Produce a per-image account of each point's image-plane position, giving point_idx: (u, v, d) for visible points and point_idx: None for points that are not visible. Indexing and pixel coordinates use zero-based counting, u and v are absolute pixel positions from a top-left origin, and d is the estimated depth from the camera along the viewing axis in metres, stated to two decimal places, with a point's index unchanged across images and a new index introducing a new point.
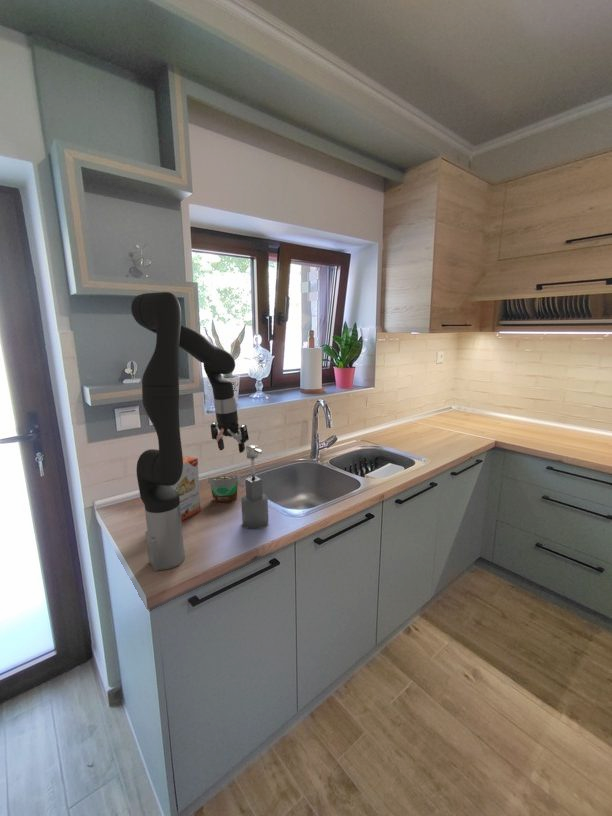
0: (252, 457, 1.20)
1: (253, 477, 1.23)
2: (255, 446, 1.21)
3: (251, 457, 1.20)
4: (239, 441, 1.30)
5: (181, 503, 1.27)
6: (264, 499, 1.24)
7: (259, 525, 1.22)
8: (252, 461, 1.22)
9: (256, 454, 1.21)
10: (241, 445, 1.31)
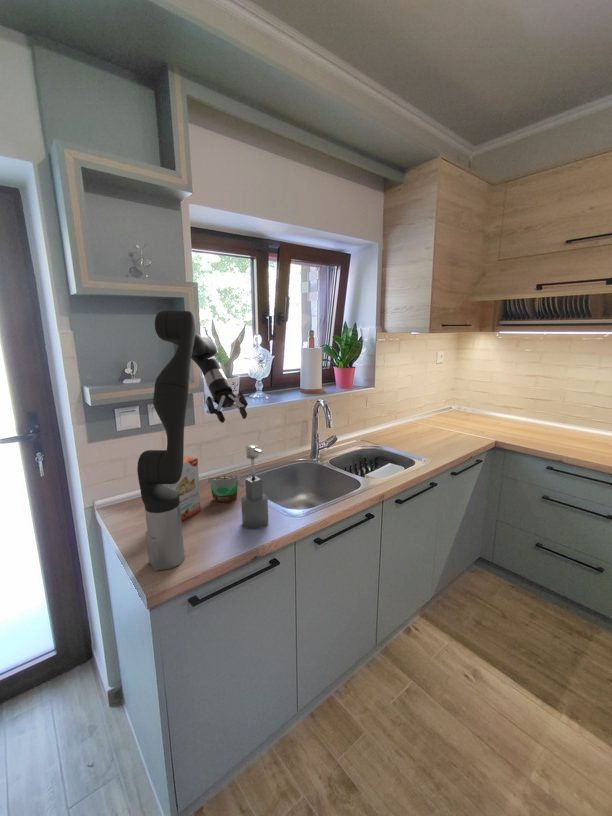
0: (252, 457, 1.20)
1: (253, 477, 1.23)
2: (255, 446, 1.21)
3: (251, 457, 1.20)
4: (242, 405, 1.32)
5: (181, 503, 1.27)
6: (264, 499, 1.24)
7: (259, 525, 1.22)
8: (252, 461, 1.22)
9: (256, 454, 1.21)
10: (244, 409, 1.32)
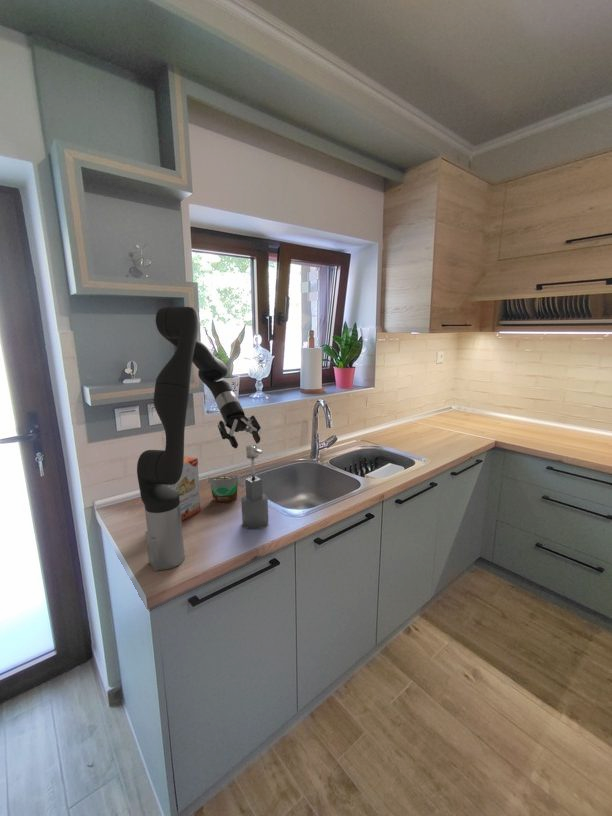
0: (252, 457, 1.20)
1: (253, 477, 1.23)
2: (255, 446, 1.21)
3: (251, 457, 1.20)
4: (255, 429, 1.27)
5: (181, 503, 1.27)
6: (264, 499, 1.24)
7: (259, 525, 1.22)
8: (252, 461, 1.22)
9: (256, 454, 1.21)
10: (257, 433, 1.27)
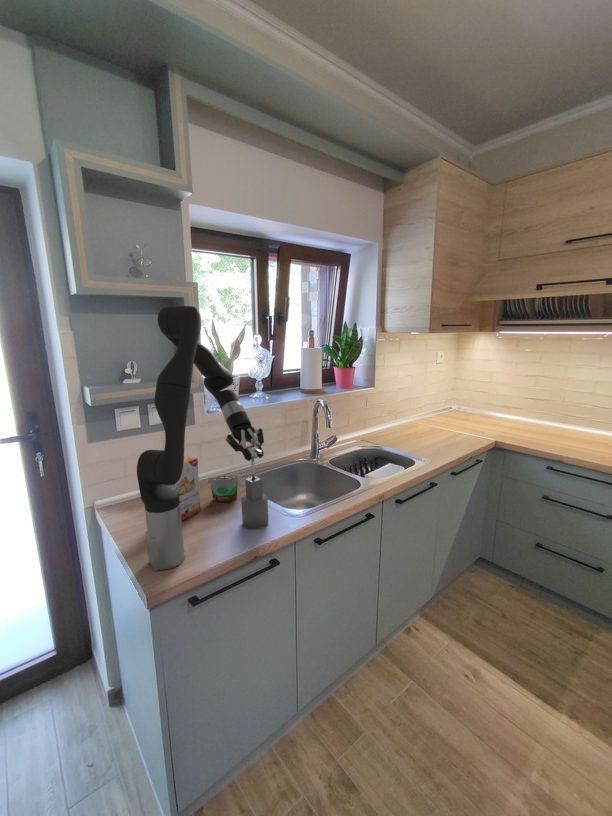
0: (252, 457, 1.20)
1: (253, 477, 1.23)
2: (255, 446, 1.22)
3: None
4: (258, 443, 1.23)
5: (181, 503, 1.27)
6: (264, 499, 1.24)
7: (259, 525, 1.22)
8: (252, 461, 1.22)
9: (256, 454, 1.21)
10: (260, 447, 1.23)
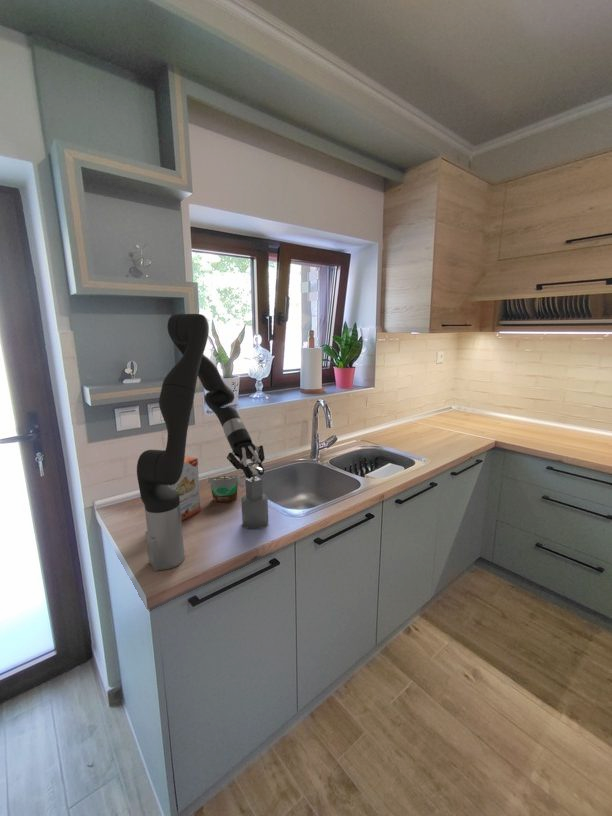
0: (253, 475, 1.21)
1: None
2: (256, 464, 1.23)
3: (252, 475, 1.21)
4: (258, 460, 1.24)
5: (181, 503, 1.27)
6: (264, 499, 1.24)
7: (259, 525, 1.22)
8: (253, 479, 1.23)
9: (257, 472, 1.22)
10: (261, 465, 1.24)
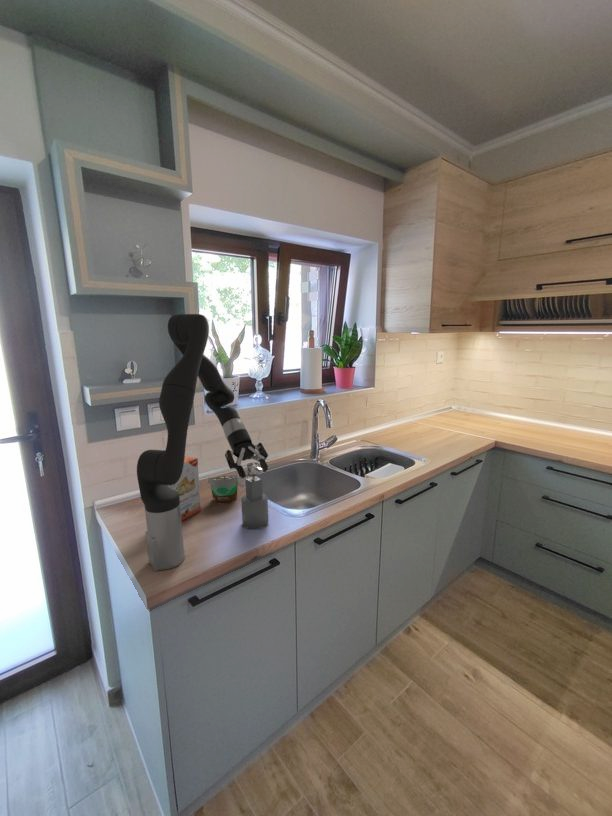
0: (253, 475, 1.21)
1: None
2: (256, 464, 1.23)
3: (252, 475, 1.21)
4: (262, 457, 1.26)
5: (181, 503, 1.27)
6: (264, 499, 1.24)
7: (259, 525, 1.22)
8: (253, 479, 1.23)
9: (257, 472, 1.22)
10: (264, 462, 1.26)
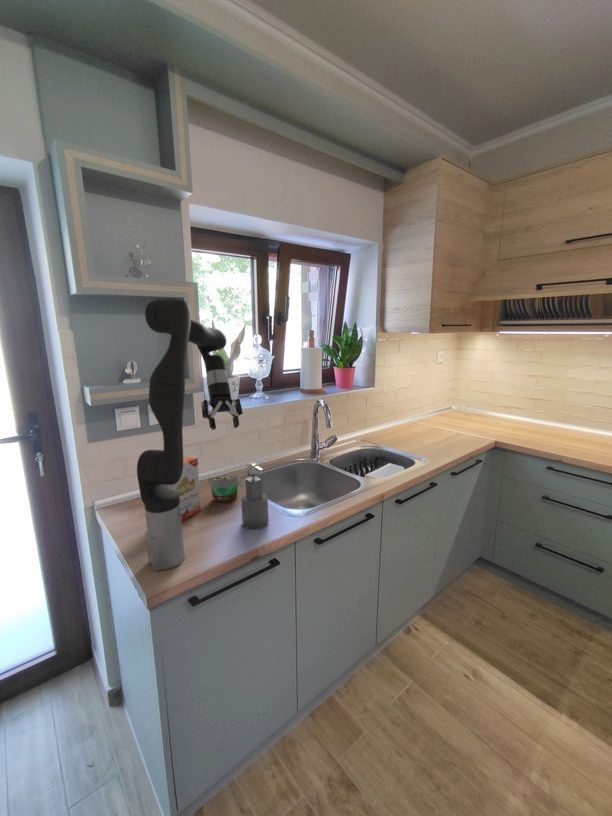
0: (253, 475, 1.21)
1: None
2: (256, 464, 1.23)
3: (252, 475, 1.21)
4: (236, 413, 1.31)
5: (181, 503, 1.27)
6: (264, 499, 1.24)
7: (259, 525, 1.22)
8: (253, 479, 1.23)
9: (257, 472, 1.22)
10: (237, 418, 1.31)
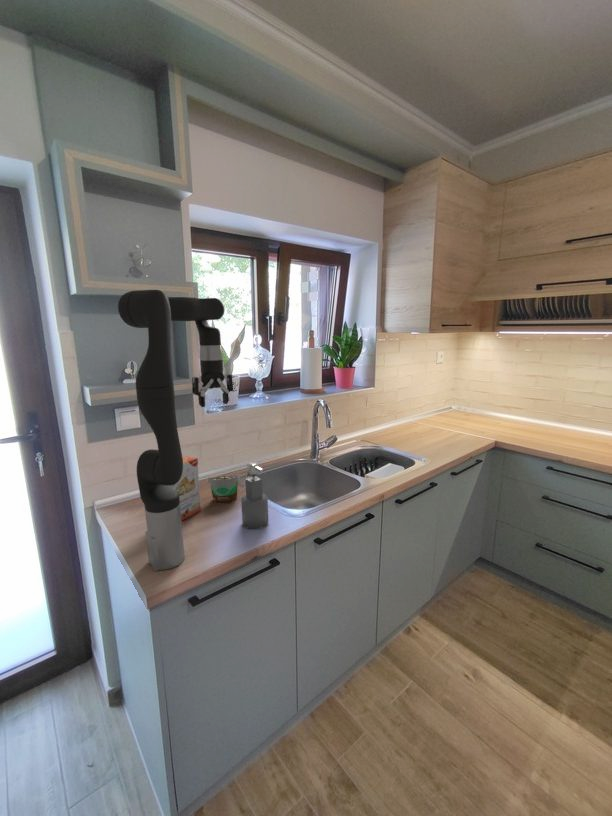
0: (253, 475, 1.21)
1: None
2: (256, 464, 1.23)
3: (252, 475, 1.21)
4: (227, 390, 1.29)
5: (181, 503, 1.27)
6: (264, 499, 1.24)
7: (259, 525, 1.22)
8: (253, 479, 1.23)
9: (257, 472, 1.22)
10: (227, 395, 1.30)
